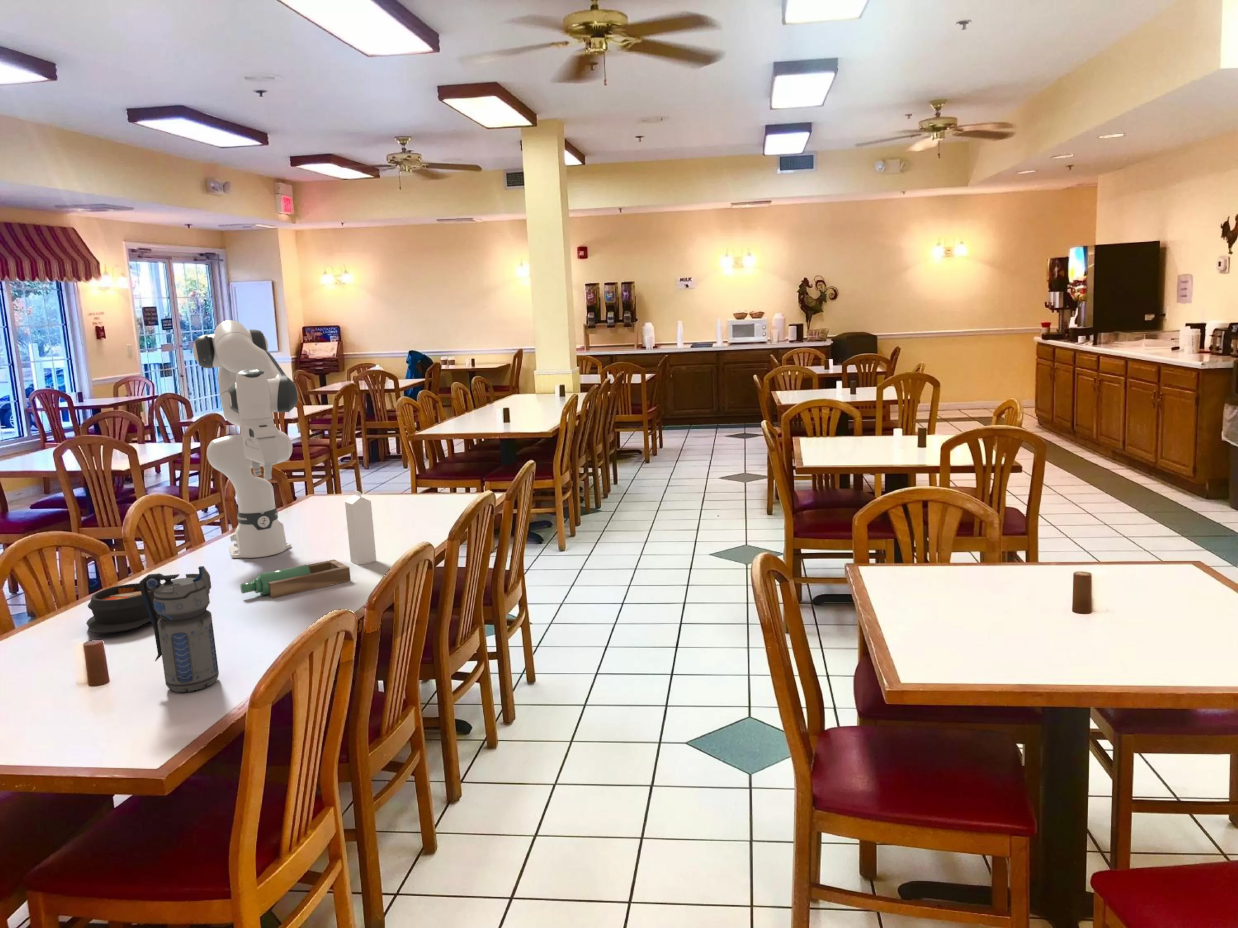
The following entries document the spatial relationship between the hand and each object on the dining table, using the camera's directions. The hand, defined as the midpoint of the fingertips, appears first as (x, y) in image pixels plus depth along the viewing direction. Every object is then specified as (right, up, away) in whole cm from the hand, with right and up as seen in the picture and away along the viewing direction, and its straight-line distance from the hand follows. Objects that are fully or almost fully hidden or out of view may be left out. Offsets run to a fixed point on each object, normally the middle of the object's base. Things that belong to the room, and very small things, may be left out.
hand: (262, 477), depth 262 cm
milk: (+21, -26, +25) cm, 42 cm away
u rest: (+11, -30, +2) cm, 32 cm away
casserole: (-25, -37, -24) cm, 51 cm away
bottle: (+12, -28, +2) cm, 30 cm away
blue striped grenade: (+10, -43, -67) cm, 80 cm away
